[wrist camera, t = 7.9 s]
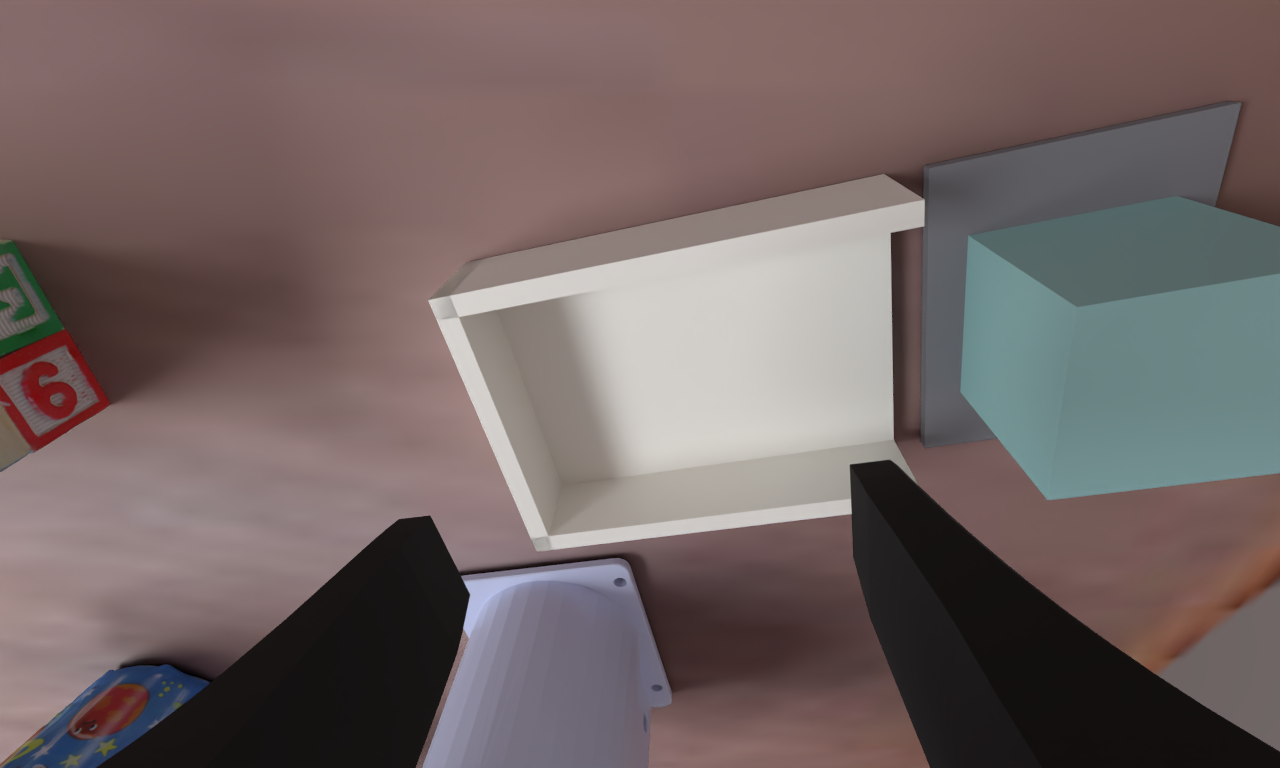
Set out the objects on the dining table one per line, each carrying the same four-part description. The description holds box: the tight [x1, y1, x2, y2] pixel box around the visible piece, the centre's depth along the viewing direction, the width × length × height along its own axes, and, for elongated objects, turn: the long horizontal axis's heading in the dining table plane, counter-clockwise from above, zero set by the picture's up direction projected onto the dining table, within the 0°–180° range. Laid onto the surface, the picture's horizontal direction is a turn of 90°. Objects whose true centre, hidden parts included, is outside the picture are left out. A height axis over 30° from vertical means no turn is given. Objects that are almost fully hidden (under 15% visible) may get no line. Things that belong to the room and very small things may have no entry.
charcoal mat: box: [920, 101, 1242, 448], centre depth 17 cm, size 9×7×1 cm
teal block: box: [960, 196, 1280, 500], centre depth 14 cm, size 5×5×5 cm
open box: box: [428, 174, 925, 552], centre depth 17 cm, size 9×12×3 cm
